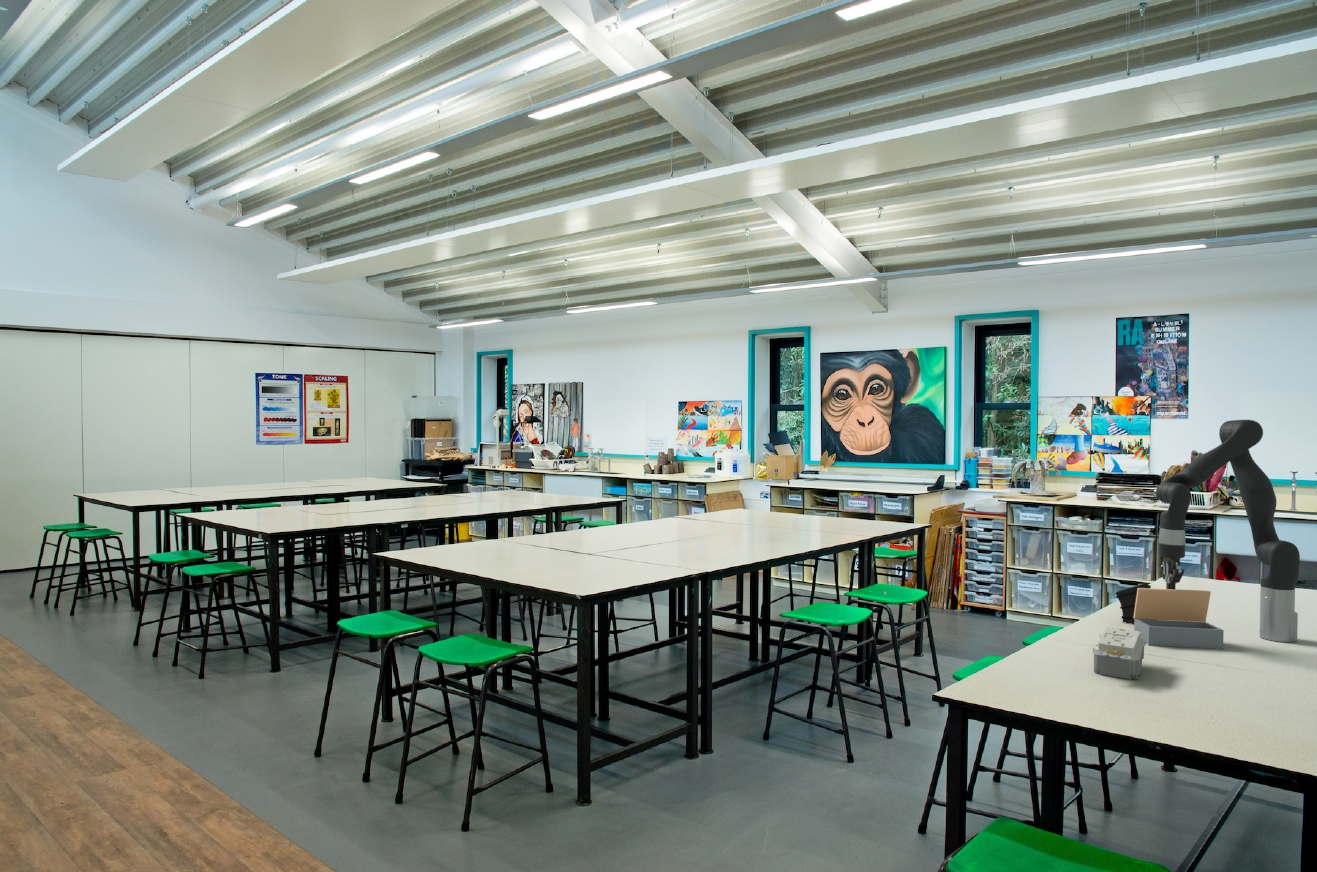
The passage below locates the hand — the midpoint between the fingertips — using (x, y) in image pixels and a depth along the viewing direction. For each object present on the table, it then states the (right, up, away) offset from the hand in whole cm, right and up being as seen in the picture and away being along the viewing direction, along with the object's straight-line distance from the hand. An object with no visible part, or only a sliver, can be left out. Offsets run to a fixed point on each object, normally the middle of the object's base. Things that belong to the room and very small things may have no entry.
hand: (1170, 594), depth 270 cm
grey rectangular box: (-1, -15, -5) cm, 16 cm away
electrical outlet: (-38, -15, -37) cm, 55 cm away
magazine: (+1, -15, +21) cm, 26 cm away
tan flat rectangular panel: (0, -4, -1) cm, 4 cm away
